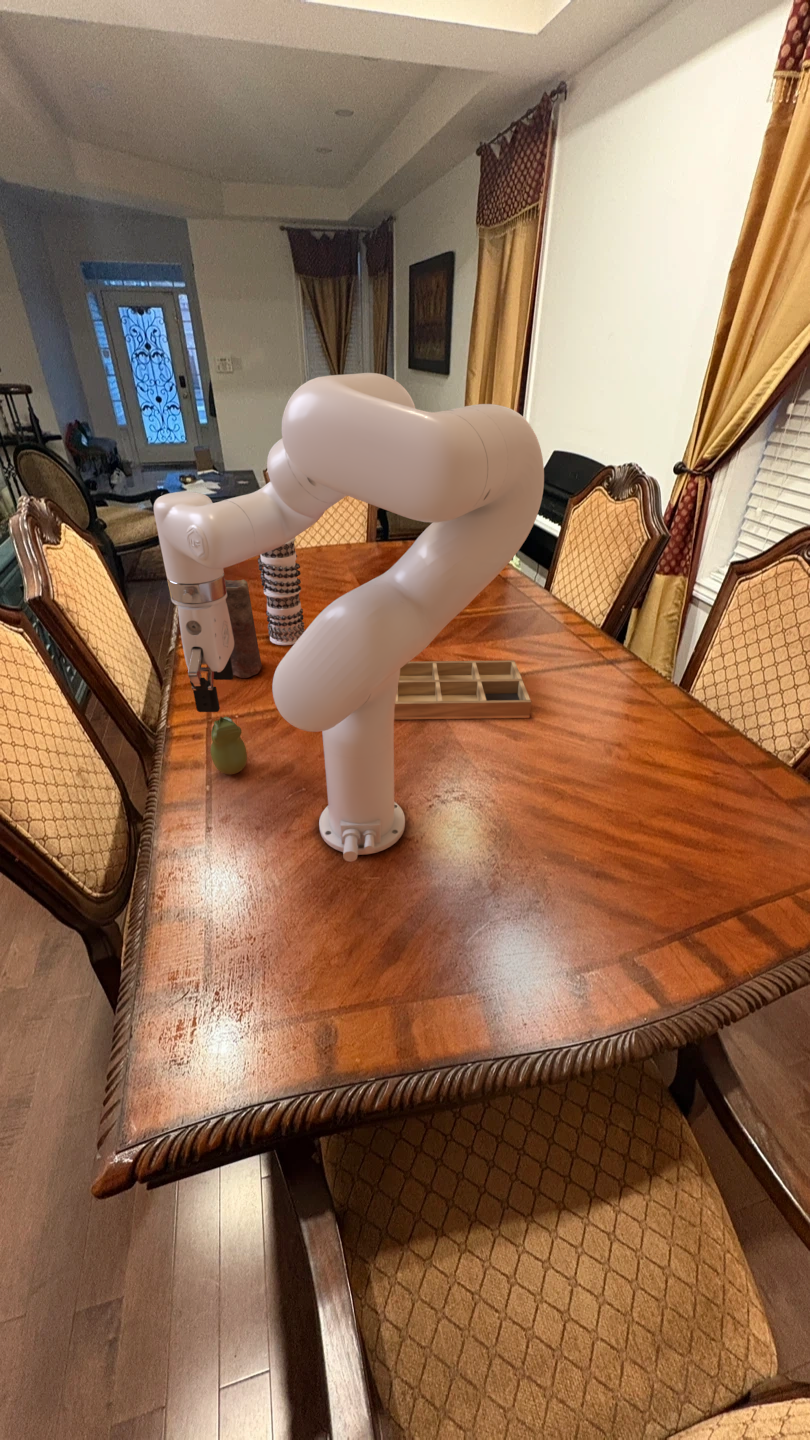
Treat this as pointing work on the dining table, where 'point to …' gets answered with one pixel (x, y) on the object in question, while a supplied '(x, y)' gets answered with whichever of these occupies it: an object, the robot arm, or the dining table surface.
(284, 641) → the decorative candle
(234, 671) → the candle
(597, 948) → the dining table surface
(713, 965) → the dining table surface
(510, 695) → the wooden compartment tray
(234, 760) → the pear
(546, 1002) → the dining table surface
